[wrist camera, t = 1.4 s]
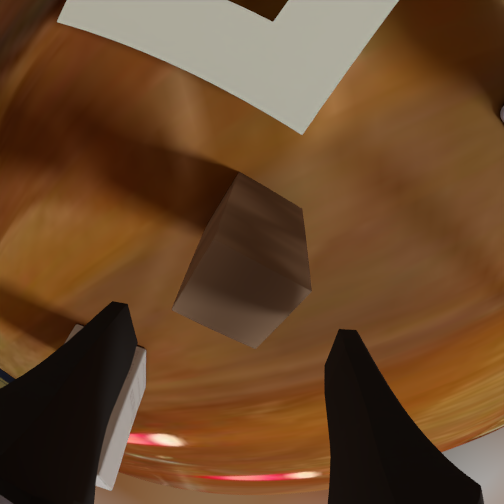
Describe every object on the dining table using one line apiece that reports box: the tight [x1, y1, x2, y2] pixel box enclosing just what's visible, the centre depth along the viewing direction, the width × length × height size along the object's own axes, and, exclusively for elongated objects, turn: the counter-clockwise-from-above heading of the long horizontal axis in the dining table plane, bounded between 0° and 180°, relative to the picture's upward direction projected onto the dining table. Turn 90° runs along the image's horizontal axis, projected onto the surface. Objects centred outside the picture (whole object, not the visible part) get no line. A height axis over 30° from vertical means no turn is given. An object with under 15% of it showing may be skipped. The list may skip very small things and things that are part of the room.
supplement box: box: [64, 324, 146, 491], centre depth 22 cm, size 7×7×13 cm
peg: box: [172, 172, 312, 349], centre depth 15 cm, size 4×4×7 cm
